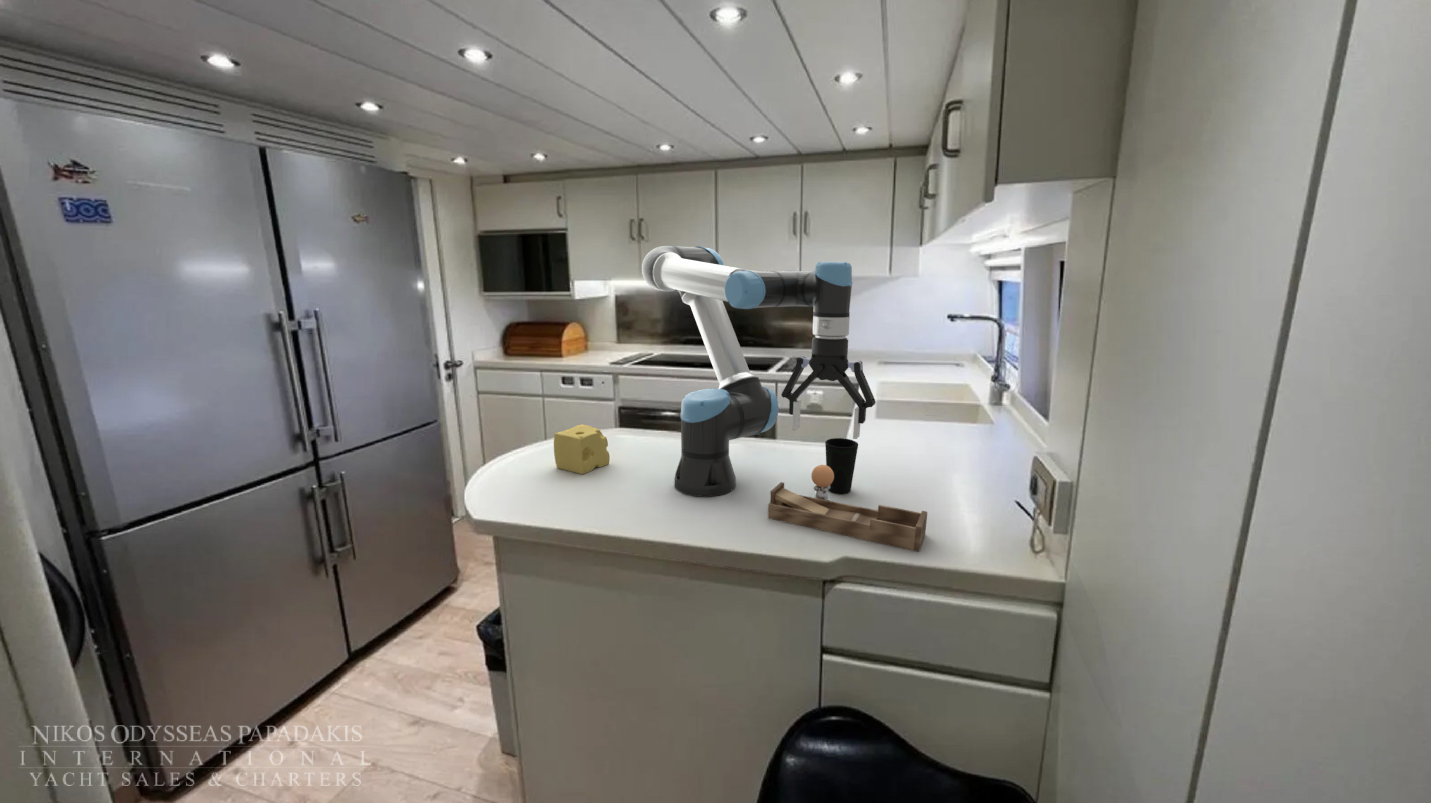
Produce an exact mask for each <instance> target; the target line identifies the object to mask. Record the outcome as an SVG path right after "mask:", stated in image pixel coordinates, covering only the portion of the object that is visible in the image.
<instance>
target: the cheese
mask: <svg viewBox="0 0 1431 803" xmlns="http://www.w3.org/2000/svg"><path fill="white" fill-rule="evenodd" d="M608 446H609V444H608V439H607V437H606V436H604V434H603V432H602V431H601V430H600V429H599V428H596V427H594V426H591V425H588V424H587V425H586V424H583V423H581V424H578V425H575V426H573V427H571V428H568V429H565V430H562V431H559V432H555V433H554V437H553V454H554V462H555V465H556V468H557V469H561V470H564V471H569V472H572V473H575V474H580V475H584V474H587V473H589V472H591V471H592V472H593V470H594V469H595V468H603V467H604V466H608V465H609V464H610V453H609V451H608V450H607V448H608Z"/></svg>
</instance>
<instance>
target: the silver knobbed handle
mask: <svg viewBox="0 0 1431 803" xmlns="http://www.w3.org/2000/svg"><path fill="white" fill-rule="evenodd" d="M828 489H830V485H829V486H827V487H819V486H817V485H814V486H813V490H814V491H815V495H814V498H817V499H822V500H828V501H830V500H829V491H828Z"/></svg>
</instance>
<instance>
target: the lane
mask: <svg viewBox="0 0 1431 803" xmlns="http://www.w3.org/2000/svg"><path fill="white" fill-rule="evenodd" d="M769 499H770V500H769V501H770V502H769V503H768V509H767V511H768V512H767V518H768V519H770V520H776V521H779V522H784V523H789V524H792V525H798V526H803V527H808V528H812V529H815V530H821V531H825V532H829V533H833V534H837V535H843V536H847V537H853V538H856V539H860V540H866V541H869V542H874V543H878V544H883V545H888V546H892V547H896V548H900V547H901V549H905V550H911V551H914V552H918V553H919V552H920V550H921V547H922V545H923V542H924V539H925V536H926V530H927V529H926V528H927V522H928V520H927V519H928V511H926V510H921V512H918V511H914V510H908V509H904V508H898V507H893V506H887V505H881V504H878V507H877V509H872V508H868V507H862V506H856V505H852V504H847V503H842V502H837V501H832V500H829V499H828V500H829V501H828V500H822V499H817V498H815V497H812V496H807V495H801V494H798V493H794V492H793V491H791V490H789V489H787V488H785V482H782V481H781V482H779V483H778V484H777V485H776V486H774V488H772V490H770V497H769Z"/></svg>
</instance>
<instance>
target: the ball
mask: <svg viewBox="0 0 1431 803" xmlns="http://www.w3.org/2000/svg"><path fill="white" fill-rule="evenodd" d="M810 477H811V480H812V482H813V484H814V486H816V485H817V486H819V487H827V486H829V485H830V484H831V483H832V482H833V480H834V473H833V471H832V469H831V468H830V467H828V466H826V464H819V465H817V466H815V467H814V468H813V469H812V471H811V476H810Z"/></svg>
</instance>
